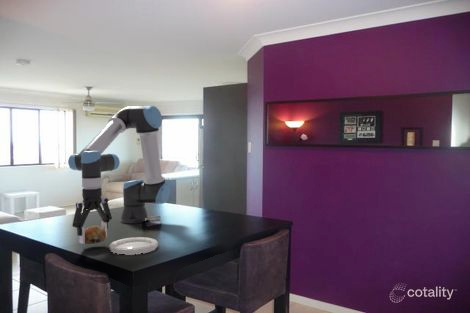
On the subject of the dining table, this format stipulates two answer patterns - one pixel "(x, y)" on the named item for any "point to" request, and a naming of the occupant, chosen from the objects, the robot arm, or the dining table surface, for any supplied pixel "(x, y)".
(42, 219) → the dining table surface
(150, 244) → the dish
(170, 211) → the dining table surface
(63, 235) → the dining table surface
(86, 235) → the bread roll
